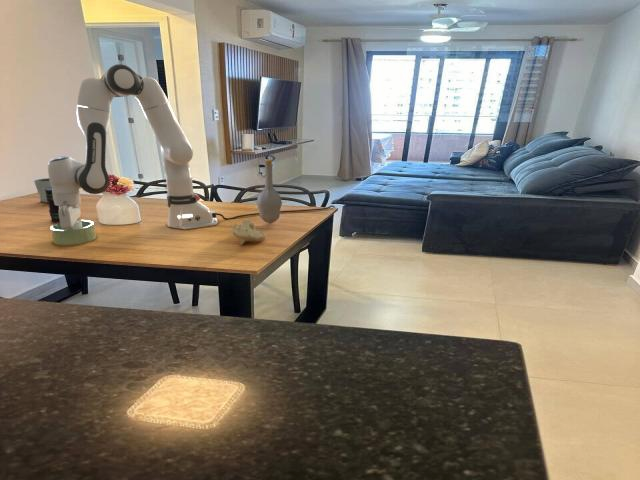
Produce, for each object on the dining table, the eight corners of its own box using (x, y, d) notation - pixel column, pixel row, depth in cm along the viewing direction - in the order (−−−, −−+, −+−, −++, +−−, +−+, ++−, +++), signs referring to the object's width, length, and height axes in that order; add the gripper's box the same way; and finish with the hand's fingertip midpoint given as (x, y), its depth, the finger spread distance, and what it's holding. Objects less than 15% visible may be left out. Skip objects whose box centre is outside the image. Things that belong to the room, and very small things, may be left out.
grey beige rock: (256, 239, 164) (227, 220, 158) (267, 229, 161) (238, 209, 155) (253, 262, 152) (222, 242, 145) (265, 251, 149) (233, 230, 142)
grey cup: (59, 201, 213) (55, 180, 209) (37, 203, 208) (32, 181, 204) (60, 198, 221) (56, 177, 217) (39, 199, 216) (34, 178, 212)
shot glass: (75, 241, 149) (71, 224, 147) (60, 240, 151) (56, 223, 148) (88, 236, 156) (85, 219, 153) (74, 235, 157) (71, 218, 155)
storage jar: (56, 223, 173) (49, 191, 168) (47, 219, 179) (40, 188, 174) (79, 219, 181) (73, 188, 176) (71, 215, 186) (65, 185, 182)
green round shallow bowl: (98, 232, 162) (95, 219, 160) (93, 243, 150) (90, 228, 148) (57, 236, 157) (55, 222, 155) (49, 247, 144) (46, 232, 142)
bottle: (275, 228, 174) (274, 162, 164) (253, 225, 177) (251, 160, 168) (285, 222, 184) (285, 159, 174) (264, 219, 187) (262, 157, 178)
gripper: (71, 204, 140) (78, 240, 145) (80, 193, 158) (86, 225, 162) (51, 205, 138) (58, 241, 142) (63, 194, 156) (69, 226, 160)
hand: (73, 233), depth 152 cm, fingers closed on shot glass, 5 cm apart
